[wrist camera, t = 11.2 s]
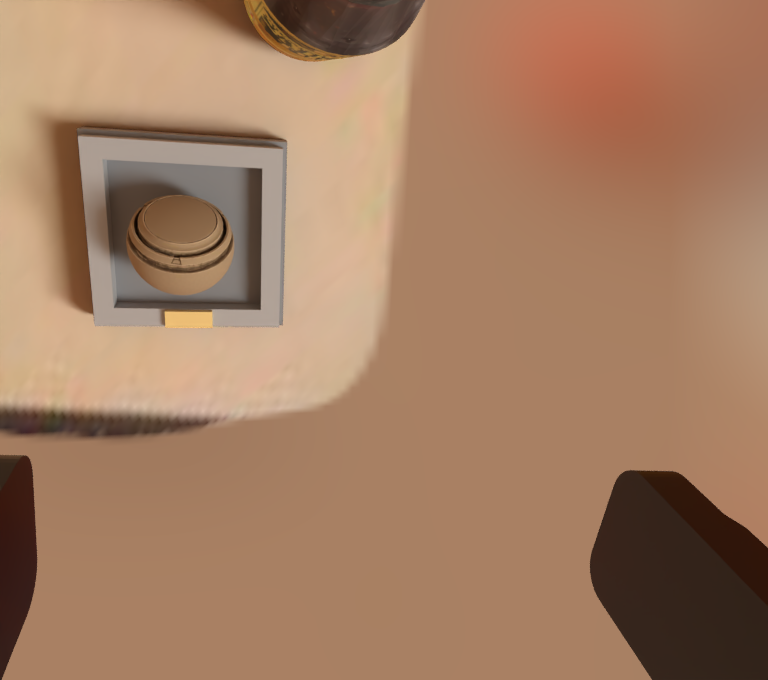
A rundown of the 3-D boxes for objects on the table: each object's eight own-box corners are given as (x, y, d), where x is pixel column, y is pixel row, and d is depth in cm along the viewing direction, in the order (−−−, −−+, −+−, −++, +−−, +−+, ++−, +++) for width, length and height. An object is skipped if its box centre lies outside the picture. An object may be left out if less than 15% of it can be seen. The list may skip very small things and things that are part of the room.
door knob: (254, 239, 35) (255, 264, 30) (183, 296, 35) (173, 329, 30) (188, 164, 32) (179, 178, 28) (114, 225, 33) (92, 249, 28)
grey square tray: (82, 126, 32) (69, 130, 30) (285, 139, 34) (288, 144, 32) (98, 315, 36) (88, 332, 33) (281, 317, 38) (283, 333, 35)
